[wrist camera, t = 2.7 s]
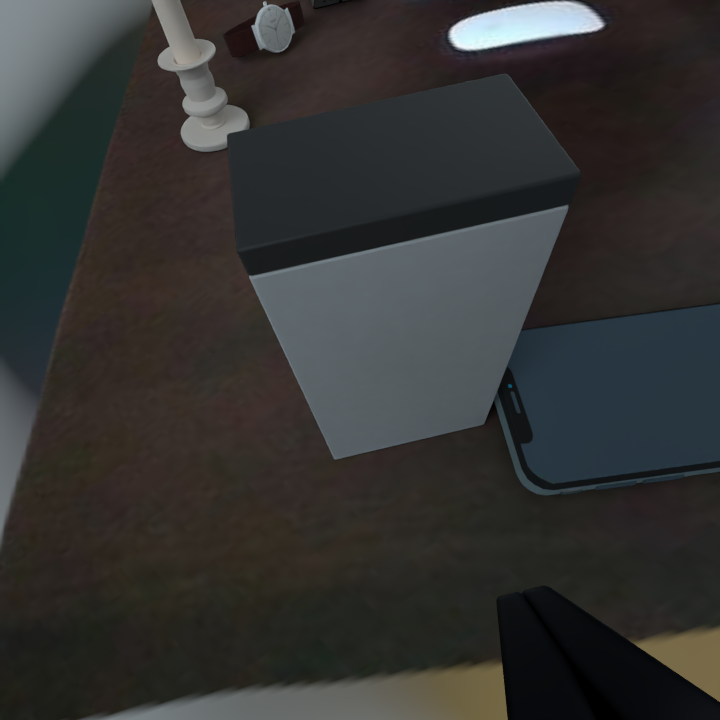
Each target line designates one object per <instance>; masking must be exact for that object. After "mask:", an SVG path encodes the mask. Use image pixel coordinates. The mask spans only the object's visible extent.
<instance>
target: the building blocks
mask: <svg viewBox="0 0 720 720" xmlns="http://www.w3.org/2000/svg"><path fill="white" fill-rule="evenodd" d="M346 1H350V0H312V4H313V8H314V9H316V8H321V7H325V6H329V5H333V4H337V3H342V2H346Z"/></svg>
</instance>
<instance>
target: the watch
mask: <svg viewBox="0 0 720 720" xmlns="http://www.w3.org/2000/svg"><path fill="white" fill-rule="evenodd" d="M263 5H264V6H265V7H263V8H262V9H261V10H260V11H259V13H258V15H256V16H255V17H253V18H251V19H249V20H247V21H245V22H243V23H241V24H239V25H237V26H235V27H234V28H232V29H230V30H229V31H227V32H226V33H225V34H224V35H223V37H224V39H225V42H226V44H227V46H228V48H229V51H230V53H231V55H232V57H240V56H243V55H246V54H249V53H251V52H254V51H256V50H258V49H260V50H262V49H263V48H264V49H266V50H267V51H270V52H273V53H279V52H281V51H283V50H285V49H286V48H287V47H288V45H289V43H290V41H291V37H292V34H293V33H295V31H296V30H297V29H299V28H301V27H302V26H303V25H304V19H303V14H302V9H301V6H300V2H299V1H295V2H291V3H287V4H284V5H282V6H279V7H278V6H276V5H267V3H266V2H263ZM266 5H267V6H266Z"/></svg>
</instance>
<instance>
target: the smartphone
mask: <svg viewBox="0 0 720 720" xmlns="http://www.w3.org/2000/svg"><path fill="white" fill-rule="evenodd" d="M494 402H495V406H496V409H497V412H498V415H499V419H500V422H501V425H502V429H503V432H504V435H505V438H506V442H507V445H508V448H509V452H510V455H511V458H512V461H513V465H514V468H515V471H516V474H517V476H518V478H519V480H520V482H521V483H522V485H523V486H525V487H526V488H527V489H528V490H530V491H532V492H534V493H536V494H540V495H553V494H561V495H566V494H573V493H580V492H582V491H583V490H590V489H596V490H602V489H609V488H617V487H624V486H631V485H635V484H636V483H641V482H643V484H646V483H653V482H660V481H667V480H675V479H681V478H683V477H685V476H692V475H699V474H706V473H714V472H720V303H714V304H707V305H699V306H692V307H684V308H677V309H669V310H662V311H654V312H647V313H639V314H632V315H625V316H617V317H610V318H602V319H595V320H587V321H580V322H572V323H565V324H557V325H550V326H542V327H535V328H527V329H521V331H520V334H519V336H518V339H517V342H516V344H515V347H514V349H513V352H512V354H511V357H510V359H509V362H508V365H507V367H506V370H505V372H504V375H503V377H502V380H501V382H500V385H499V388H498V390H497V393H496V395H495V398H494Z"/></svg>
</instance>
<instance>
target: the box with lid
mask: <svg viewBox="0 0 720 720" xmlns="http://www.w3.org/2000/svg"><path fill="white" fill-rule="evenodd" d="M227 146H228V157H229V168H230V180H231V191H232V202H233V213H234V224H235V236H236V247H237V252H238V254H239V257H240V259H241V261H242V263H243V265H244V267H245V269H246V272H247V273H248V275H249V278H250V280H251V282H252V284H253V287H254V289H255V291H256V293H257V295H258V297H259V299H260V302H261V304H262V306H263V308H264V310H265V312H266V314H267V317H268V319H269V321H270V323H271V325H272V327H273V329H274V331H275V334H276V336H277V338H278V340H279V342H280V344H281V346H282V349H283V351H284V353H285V355H286V357H287V359H288V361H289V364H290V366H291V368H292V370H293V372H294V374H295V376H296V379H297V381H298V383H299V385H300V387H301V389H302V391H303V394H304V396H305V398H306V400H307V402H308V404H309V406H310V408H311V411H312V413H313V415H314V417H315V419H316V421H317V423H318V426H319V428H320V430H321V432H322V434H323V436H324V438H325V441H326V443H327V445H328V447H329V449H330V451H331V453H332V456H333V458H334V459H340V458H344V457H348V456H353V455H357V454H361V453H365V452H370V451H374V450H378V449H382V448H387V447H391V446H395V445H399V444H403V443H408V442H412V441H416V440H420V439H425V438H429V437H433V436H437V435H442V434H446V433H450V432H454V431H459V430H463V429H467V428H471V427H476V426H480V425H483V424H484V423H485V421H486V418H487V416H488V413H489V411H490V408H491V406H492V403H493V400H494V398H495V395H496V393H497V390H498V388H499V385H500V382H501V380H502V377H503V375H504V372H505V370H506V367H507V365H508V362H509V359H510V357H511V354H512V352H513V349H514V347H515V344H516V342H517V339H518V336H519V334H520V331H521V329H522V326H523V324H524V321H525V318H526V316H527V313H528V311H529V308H530V306H531V303H532V301H533V298H534V295H535V293H536V290H537V288H538V285H539V283H540V280H541V278H542V275H543V272H544V270H545V267H546V265H547V262H548V260H549V257H550V254H551V252H552V249H553V247H554V244H555V242H556V239H557V237H558V234H559V231H560V229H561V226H562V224H563V221H564V219H565V216H566V214H567V211H568V204H570V203H571V201H572V198H573V196H574V193H575V190H576V188H577V185H578V183H579V180H580V178H581V172H580V171H579V169H578V168H577V166H576V165H575V164H574V162H573V161H572V160H571V158H570V157H569V156H568V154H567V153H566V152H565V150H564V149H563V148H562V146H561V145H560V144H559V142H558V141H557V140H556V138H555V137H554V136H553V134H552V133H551V132H550V130H549V129H548V128H547V126H546V125H545V124H544V122H543V121H542V119H541V118H540V117H539V115H538V114H537V113H536V111H535V110H534V109H533V107H532V106H531V105H530V103H529V102H528V101H527V99H526V98H525V97H524V95H523V94H522V93H521V91H520V90H519V89H518V87H517V86H516V85H515V83H514V82H513V81H512V79H511V78H510V76H509V75H508V74H501V75H496V76H492V77H487V78H483V79H478V80H473V81H469V82H464V83H459V84H455V85H450V86H446V87H441V88H436V89H432V90H427V91H422V92H418V93H413V94H409V95H404V96H399V97H395V98H390V99H385V100H381V101H376V102H372V103H367V104H362V105H358V106H353V107H348V108H344V109H339V110H335V111H330V112H325V113H321V114H316V115H312V116H307V117H302V118H298V119H293V120H288V121H284V122H279V123H275V124H270V125H265V126H261V127H256V128H251V129H247V130H242V131H238V132H233V133H229V134H227Z"/></svg>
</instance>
